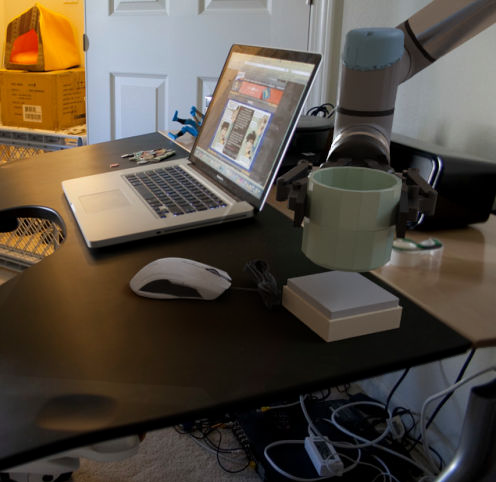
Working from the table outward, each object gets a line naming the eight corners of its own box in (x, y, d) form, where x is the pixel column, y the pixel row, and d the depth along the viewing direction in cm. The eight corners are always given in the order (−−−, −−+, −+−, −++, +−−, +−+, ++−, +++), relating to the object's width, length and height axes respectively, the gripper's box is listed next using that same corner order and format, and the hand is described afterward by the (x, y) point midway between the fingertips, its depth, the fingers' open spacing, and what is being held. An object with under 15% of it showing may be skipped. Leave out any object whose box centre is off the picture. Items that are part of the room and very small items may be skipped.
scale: (347, 292, 77) (350, 266, 76) (399, 327, 69) (403, 299, 68) (281, 304, 75) (283, 278, 74) (327, 342, 67) (330, 313, 66)
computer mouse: (133, 272, 85) (133, 244, 84) (273, 277, 82) (276, 248, 80) (124, 307, 76) (123, 277, 74) (281, 314, 73) (284, 283, 71)
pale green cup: (389, 247, 72) (401, 169, 68) (389, 280, 64) (402, 195, 60) (306, 237, 75) (313, 163, 71) (296, 268, 67) (304, 187, 64)
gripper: (447, 196, 80) (465, 268, 61) (270, 182, 88) (237, 242, 69) (458, 137, 77) (481, 194, 58) (274, 128, 85) (240, 175, 66)
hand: (348, 220), depth 63 cm, fingers closed on pale green cup, 9 cm apart
